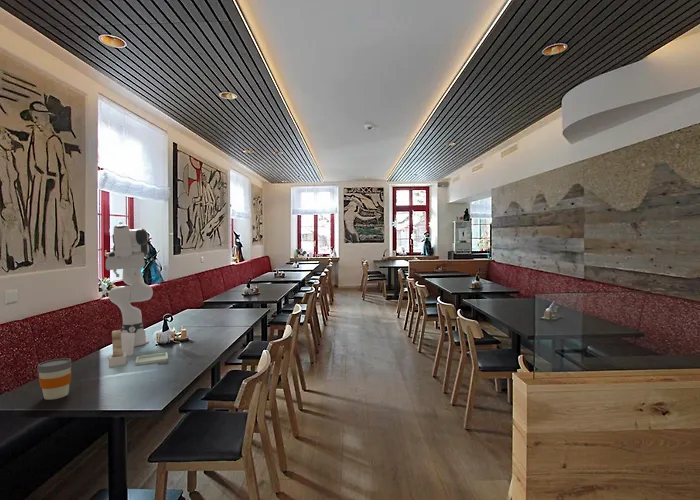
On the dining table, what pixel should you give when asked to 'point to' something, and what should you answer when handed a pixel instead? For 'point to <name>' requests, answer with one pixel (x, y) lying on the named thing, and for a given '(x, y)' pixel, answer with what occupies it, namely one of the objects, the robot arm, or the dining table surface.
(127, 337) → the foam cup
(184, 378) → the dining table surface
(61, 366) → the reusable coffee cup
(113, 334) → the tan wooden block
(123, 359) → the white square container
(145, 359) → the tray
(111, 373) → the dining table surface
